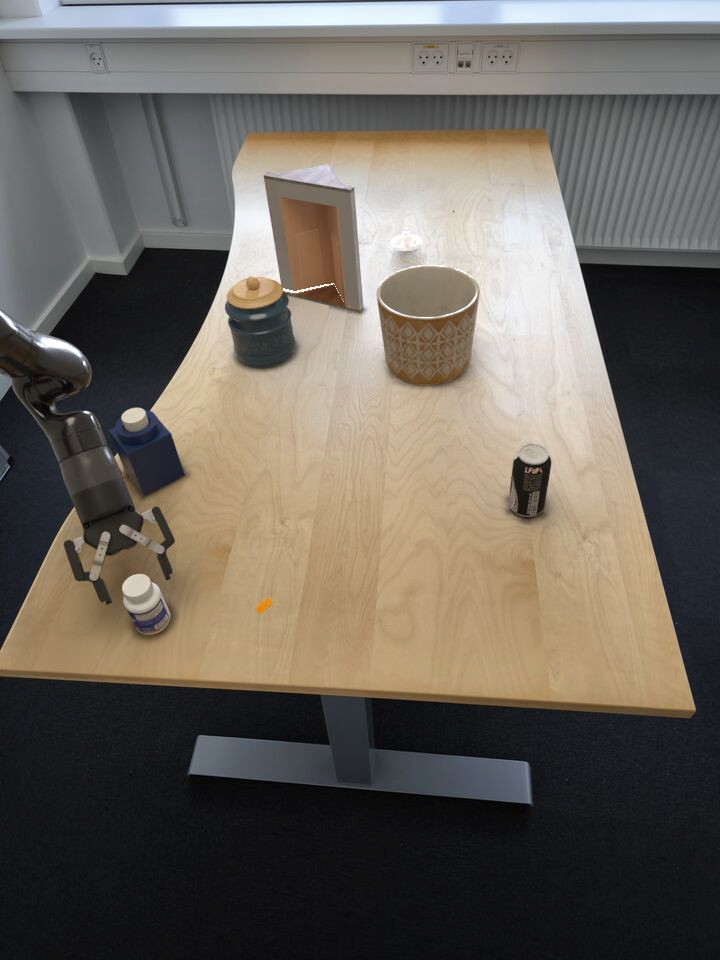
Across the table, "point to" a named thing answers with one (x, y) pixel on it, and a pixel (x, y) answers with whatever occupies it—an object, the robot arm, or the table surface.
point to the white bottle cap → (135, 419)
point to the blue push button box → (148, 454)
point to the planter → (428, 322)
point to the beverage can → (529, 480)
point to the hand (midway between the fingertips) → (139, 591)
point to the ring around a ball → (406, 242)
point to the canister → (260, 322)
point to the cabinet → (316, 236)
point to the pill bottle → (145, 604)
